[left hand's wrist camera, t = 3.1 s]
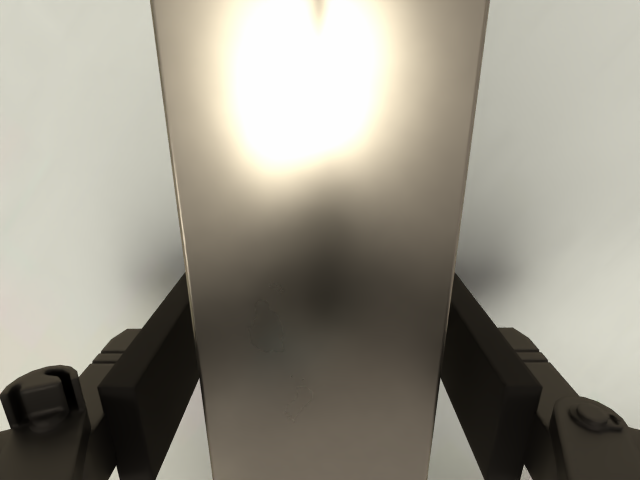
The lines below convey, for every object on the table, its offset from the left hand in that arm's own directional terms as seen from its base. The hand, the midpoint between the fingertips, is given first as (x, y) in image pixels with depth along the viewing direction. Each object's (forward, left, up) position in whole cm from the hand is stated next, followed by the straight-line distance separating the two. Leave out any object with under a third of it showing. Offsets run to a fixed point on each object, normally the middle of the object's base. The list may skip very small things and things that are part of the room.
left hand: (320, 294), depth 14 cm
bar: (+9, 0, -1) cm, 9 cm away
